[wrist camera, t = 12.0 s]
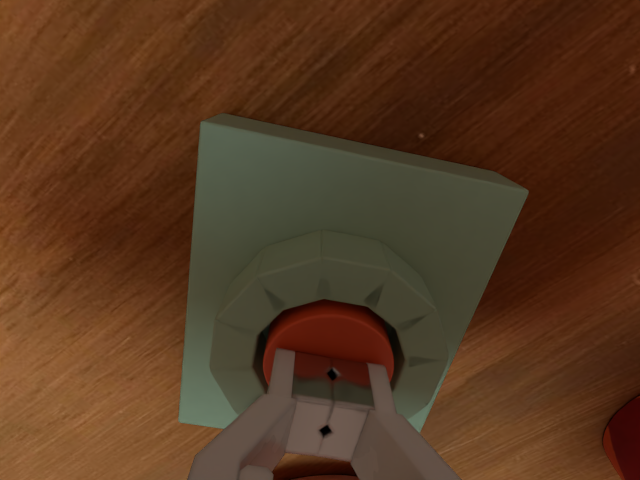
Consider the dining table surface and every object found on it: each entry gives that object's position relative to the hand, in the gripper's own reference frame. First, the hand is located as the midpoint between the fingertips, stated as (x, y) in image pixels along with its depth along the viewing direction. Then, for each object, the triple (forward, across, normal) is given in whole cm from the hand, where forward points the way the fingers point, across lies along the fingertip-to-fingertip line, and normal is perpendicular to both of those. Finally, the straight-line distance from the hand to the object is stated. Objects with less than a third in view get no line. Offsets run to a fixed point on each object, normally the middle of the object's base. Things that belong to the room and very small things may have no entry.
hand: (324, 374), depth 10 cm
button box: (+4, 0, 0) cm, 4 cm away
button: (+2, 0, 0) cm, 2 cm away
